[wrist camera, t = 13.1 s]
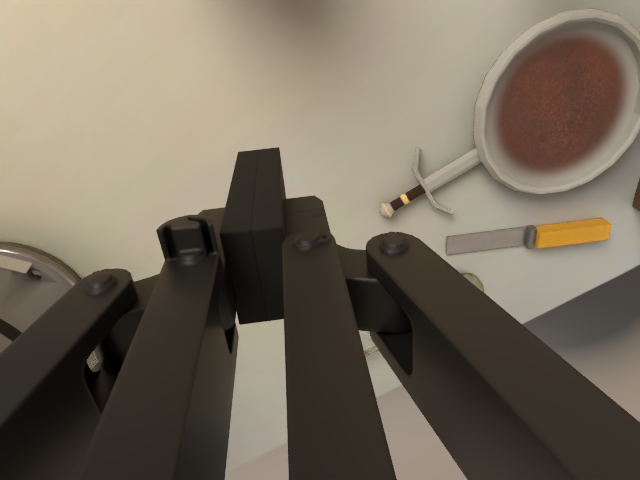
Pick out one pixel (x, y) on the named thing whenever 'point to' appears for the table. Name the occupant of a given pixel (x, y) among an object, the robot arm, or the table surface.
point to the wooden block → (637, 197)
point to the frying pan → (551, 108)
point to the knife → (531, 236)
